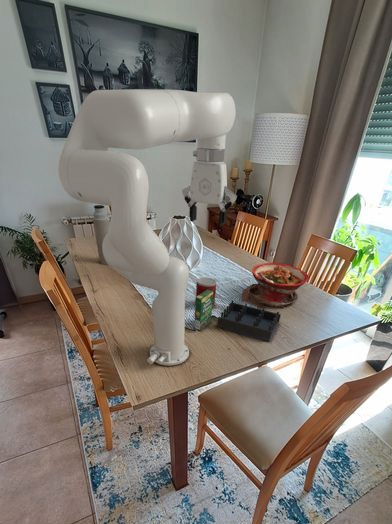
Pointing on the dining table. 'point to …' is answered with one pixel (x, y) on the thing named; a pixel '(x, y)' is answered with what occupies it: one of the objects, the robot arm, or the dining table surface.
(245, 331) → the rack
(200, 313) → the coffee box
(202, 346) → the dining table surface
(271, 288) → the stew
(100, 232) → the thermos bottle
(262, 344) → the dining table surface
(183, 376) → the dining table surface
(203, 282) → the canned food
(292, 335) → the dining table surface
